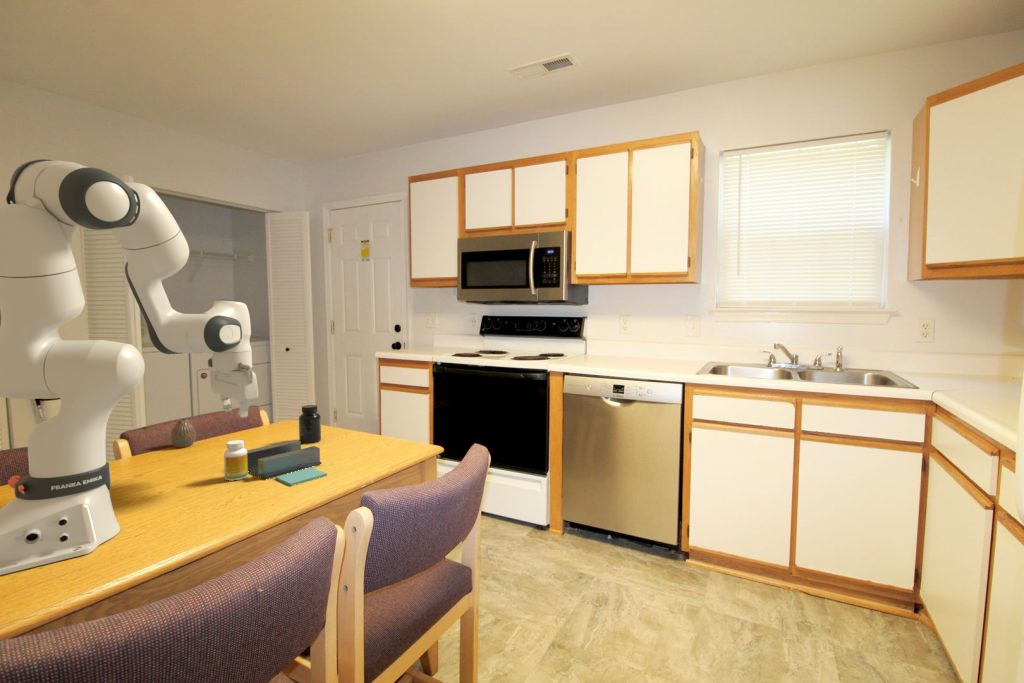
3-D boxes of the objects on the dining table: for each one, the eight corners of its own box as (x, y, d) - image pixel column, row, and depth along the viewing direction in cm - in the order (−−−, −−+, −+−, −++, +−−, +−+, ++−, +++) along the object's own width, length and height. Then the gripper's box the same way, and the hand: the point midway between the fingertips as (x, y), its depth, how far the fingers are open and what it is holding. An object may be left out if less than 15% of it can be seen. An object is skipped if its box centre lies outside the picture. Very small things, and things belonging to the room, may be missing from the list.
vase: (187, 449, 156) (185, 422, 155) (165, 449, 156) (164, 422, 155) (201, 443, 163) (200, 417, 162) (180, 443, 163) (179, 417, 162)
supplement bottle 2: (308, 437, 170) (307, 403, 169) (325, 439, 168) (324, 404, 167) (294, 443, 164) (293, 407, 163) (312, 444, 162) (311, 408, 161)
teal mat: (290, 486, 125) (290, 483, 125) (275, 479, 130) (275, 476, 130) (326, 475, 133) (326, 473, 133) (311, 469, 138) (311, 467, 137)
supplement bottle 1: (251, 477, 131) (250, 441, 130) (228, 482, 127) (227, 446, 126) (243, 472, 134) (242, 438, 134) (222, 477, 130) (220, 441, 130)
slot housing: (265, 479, 129) (264, 462, 129) (239, 468, 138) (239, 451, 138) (321, 464, 142) (321, 448, 141) (294, 454, 151) (294, 439, 150)
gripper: (264, 364, 124) (266, 418, 126) (229, 357, 137) (231, 406, 138) (237, 367, 119) (240, 422, 121) (204, 359, 132) (206, 410, 133)
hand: (235, 413), depth 130 cm, fingers open, 8 cm apart
